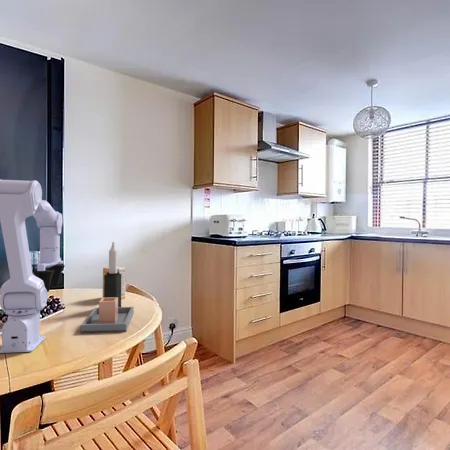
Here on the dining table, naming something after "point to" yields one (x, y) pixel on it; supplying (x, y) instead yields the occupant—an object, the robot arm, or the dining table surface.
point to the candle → (112, 277)
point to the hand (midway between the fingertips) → (49, 289)
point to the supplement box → (123, 279)
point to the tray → (119, 326)
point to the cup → (108, 310)
